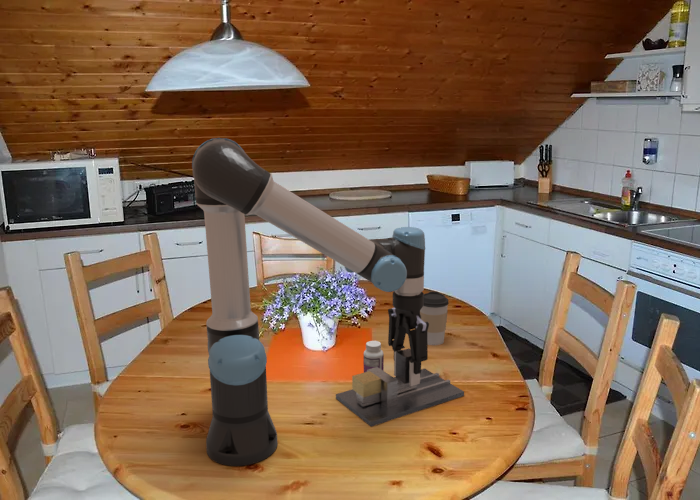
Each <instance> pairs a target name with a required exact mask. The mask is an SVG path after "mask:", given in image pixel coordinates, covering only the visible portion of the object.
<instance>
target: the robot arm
mask: <svg viewBox="0 0 700 500" xmlns="http://www.w3.org/2000/svg"><path fill="white" fill-rule="evenodd" d="M191 168H192V176H193V180H194V181H193V182H194V184H193V185H194V192H195V193H194V195H195V204H196V205H197V207H199V208H200V209H201V210H203V214H204V225H205V226H204V227H205V228H204V229H205V238H206V239H205V240H206V250H207V251H206V252H207V264H208V275H209V287H210V288H209V290H210V299H211V301H210V303H211V310H212V311H211V312H212V314H211V315H210V317H208V318H207V320H206V325H205V326H206V335H207V352H208V359H207V364H208V365H207V366H208V369H209V380H210V394H211V396H210V397H211V409H212V418H211V421H210V425H209V429H208V431H207V432H208V433H207V435H206V439H205V441H206V442H205V444H206V445H205V447H206V454H207V456H208V458H210V460H212V461H213V462H215V463H217V464H220V465H225V466H229V467H230V466H231V467H238V466H239V467H240V466H249V465H253V464H256V463H259V462H261V461H264V460H265V459H267V458H269V457H270V456H272V455H273V453H274V452H276V450H277V447H278V443H279V442H278V432H277V429H276V427H275V425H274V422H273V420H272V416H271V415H270V413H269V404H268V402H269V401H268V384H267V383H268V382H267V380H268V379H267V364H268V363H267V361H268V360H267V359H268V358H267V353H266V349H265V346H264V344H263V342H261V340H260V331H259V330H260V329H259V317H258V315H257V314H255V313H254V312H253V311H252V308H251V295H250V292H251V291H250V281H249V280H250V278H249V263H248V251H247V249H248V247H247V235H246V233H247V232H246V231H247V230H246V218H245V216H250V215H255V216H258V218H261V219H262V220H263V221H266V222H267V223H269V224H271V225H272V226H274V227H277V228H278V229H280V230H281V231H283V232H285V233H286V234H288V235H289V236H292V237H294V238H296V240H299V241H300V242H302V243H303V244H305V245H307V246H309V247H310V248H313V249H314V250H316V251H318V252H319V253H321V254H323V255H324V256H326V257H328V258H329V259H331V260H333V261H334V262H337V263H338V264H340V265H342V266H344V269H345V271H346V272H347V273H355V274H357V275H359V276H360V277H362V278H363V279H365V280H367V281H369V282H370V283H371V284H373V286H374V287H375V288H377V289H379V290H381V291H383V292H386V293H391V292H392V306H393V307H391V308H388V309H387V313H388V335H387V336H388V341H387V344H388V346H389V347H392V351H393V367H394V368H393V377H396V352H397V351H401V350H404V349H405V348H406V346H405V345H404V343H405V339H406V335H407V337H408V344H409V349H410V350H411V356H412V360H410V369H409V385H410V386H414V385H417V384H420V373H421V369H422V362H425V361H427V360H429V359H428V358H429V357H428V343H427V331H428V327H429V323H428V322H423V321H422V320H421V315H420V310H421V309H422V307H423V305H424V294H425V293H424V292H423V291H424V289H425V288H424V287H425V285H424V284H425V280H424V279H425V257H426V256H425V255H426V238H425V232H424V230H422V229H420V228H419V227H414V226H413V227H412V226H402V227H397V228H395V229H394V230H393V233H392V237H387V238H370V239H368V237H365V236H363V235H362V234H360V233H359V232H357V231H355V230H354V229H352V228H350V227H349V226H347V225H345V223H343V222H341V221H339V220H338V219H336V218H334V217H332V216H331V215H329V214H328V213H326V212H325V211H323V210H322V209H319V208H318V207H316V206H315V205H313V204H312V203H310V202H308V201H307V200H305V199H303V198H302V197H300V196H298V195H297V194H295V193H294V192H292V191H291V190H289V189H288V188H285V187H284V186H282V185H280V184H279V183H277V182H276V181H274V179H273V174H272V173H271V172H269V171H268V170H266V169H265V168H263V167H261V166H260V165H259V164H257V163H256V162H255V161H254V160H253V159H252V158H250V157H249V155H248V154H247V153H246V152H245V150H244V149H243V148H242V147H241V146H240V144H238V143H237V142H236V141H235V140H232V139H229V138H227V137H226V138H222V137H221V138H220V137H217V138H211V139H207V140H206V141H204V142H203V143H201V144H200V145H199V146H198V147H197V148H196V150H195V152H194V154H193V157H192V161H191Z"/></svg>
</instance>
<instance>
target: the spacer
mask: <svg viewBox="0 0 700 500" xmlns="http://www.w3.org/2000/svg"><path fill="white" fill-rule="evenodd" d="M351 380H352V381H351V382H352V383H351V384H352V386H351V390H352V389H353V390H354V391H355V392H357V393H358V394H359V395H361V396H362V397H367V396H370V395H373V394H377V393H380V392H381V378H379V377H378V376H376V375H375V374H373V373H372V372H370V371H368V372H365V373H364V372H362V373H358V374H354V375H352V376H351Z"/></svg>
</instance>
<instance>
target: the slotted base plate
mask: <svg viewBox="0 0 700 500" xmlns="http://www.w3.org/2000/svg"><path fill="white" fill-rule="evenodd" d="M368 371H370V372H372V373H373V374H375V375H376V376H378V377H379V378H381V401H380V402H377V403H374V404H370V405H367V406H364V407H363V406H361V405H360V404H359V403H357V402H356V392H355V391H354V390H353V389H352V388H351V389H349V390H345V391H341V392H339V393H335V399H336V400H337V401H339V402H340V403H341V404H342V405H343V406H344V407H345V408H347V410H349V411H350V412H352V413H353V414H355V415H356V416H357V417H358V418H360V419H361V420H362V421H363V422H364V423H366V424H367V425H368V426H369V427H371V428H372V427H375V426H378V425H381V424H383V423H386V422H389V421H392V420H396V419H399V418H402V417H405V416H407V415H411V414H414V413H416V412H417V413H418V412H419V411H423V410H425V409H429V408H431V407H432V408H433V407H434V406H437V405H440V404H443V403H446V402H449V401H453V400H456V399H459V398H462V397H464V396H465V391H464V390H462V389H460V388H459V387H457V386H455V385H454V384H453V383H451V380H450V379H446V380H445V379H443V378H442V377H440V373H438V372H436V373H433V372H431V371H430V370H428V369H426V368H424V367H423V368H421V373H420V384H417V389H416V390H413V391H409V392H406V393H403V394H400V395H398V380H397V378H396V376H392V375H391V374H389V373H387V372H386V371H383V370H381V369H380V368H378V367H375V368H371V369H368V370H367V372H368Z"/></svg>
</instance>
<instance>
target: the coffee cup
mask: <svg viewBox="0 0 700 500" xmlns="http://www.w3.org/2000/svg"><path fill="white" fill-rule="evenodd" d="M448 305H449V298H447V297H446V296H445V294H442V293H440V292H438V291H433V290H431V291H429V292H426V293H424V305H423V307H422V309H421V310H420V315H421V320H422V321H423V322H428V323H429V327H428V331H427V343H428V345H429V346H440V345H443V344H444V342H445V333H446V329H447V319H448Z"/></svg>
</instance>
